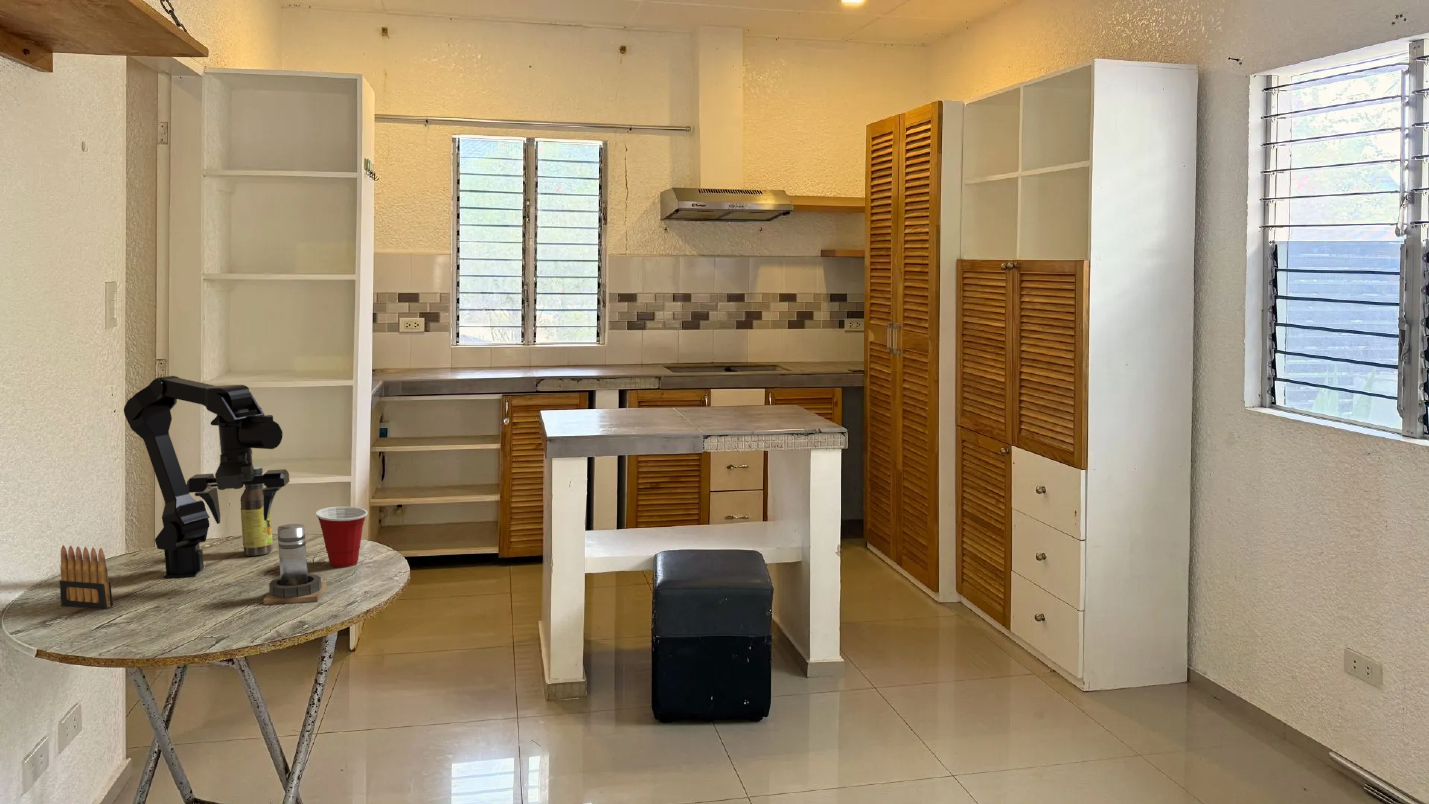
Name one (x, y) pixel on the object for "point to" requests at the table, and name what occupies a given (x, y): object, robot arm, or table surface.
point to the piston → (292, 554)
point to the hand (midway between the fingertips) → (242, 521)
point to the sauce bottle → (255, 520)
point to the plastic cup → (342, 533)
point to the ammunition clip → (84, 579)
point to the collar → (295, 591)
